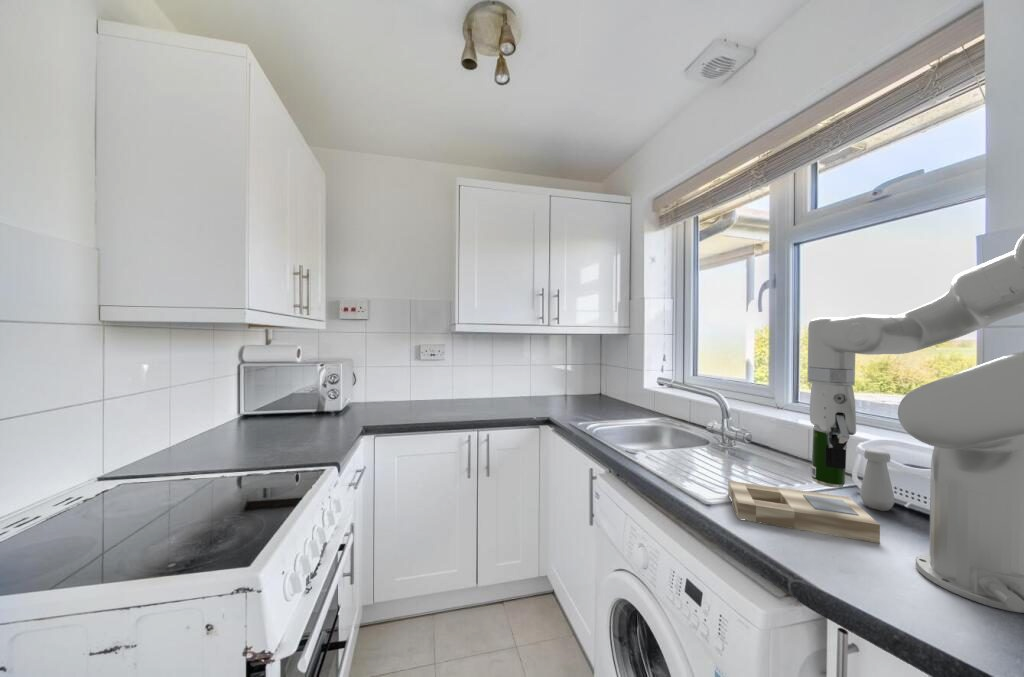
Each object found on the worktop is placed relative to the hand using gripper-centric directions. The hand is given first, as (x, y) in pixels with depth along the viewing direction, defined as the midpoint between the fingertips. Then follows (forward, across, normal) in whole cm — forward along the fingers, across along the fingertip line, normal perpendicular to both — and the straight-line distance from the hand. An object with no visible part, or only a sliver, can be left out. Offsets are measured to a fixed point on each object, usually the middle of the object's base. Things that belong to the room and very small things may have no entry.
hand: (828, 461), depth 78 cm
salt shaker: (+13, +13, -13) cm, 22 cm away
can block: (+13, 0, +6) cm, 14 cm away
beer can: (+5, 0, 0) cm, 5 cm away
